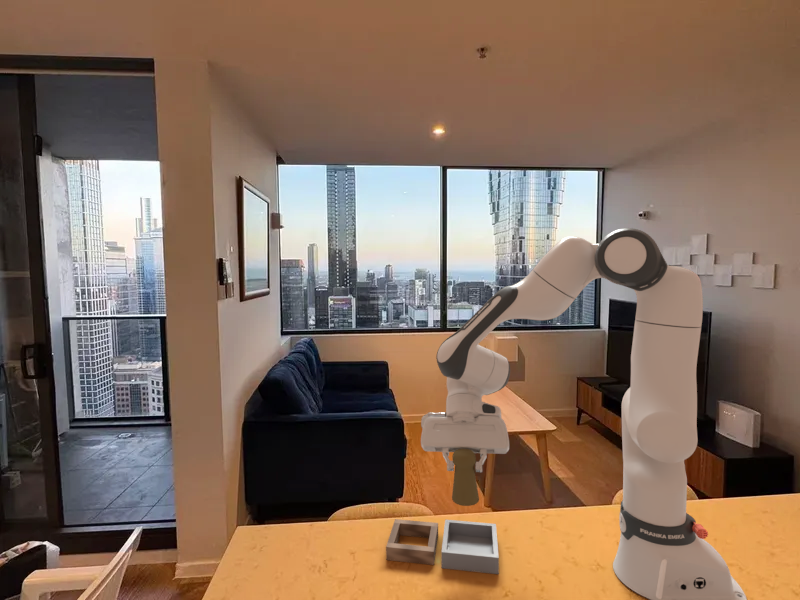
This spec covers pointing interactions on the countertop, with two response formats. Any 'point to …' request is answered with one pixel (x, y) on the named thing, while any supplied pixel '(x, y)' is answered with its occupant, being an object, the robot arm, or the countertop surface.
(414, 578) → the countertop surface
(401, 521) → the walnut holder
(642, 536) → the robot arm
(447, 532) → the slate tray
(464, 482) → the olive pawn
